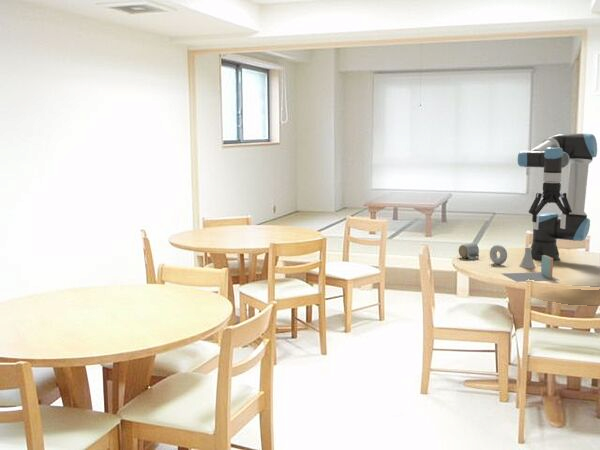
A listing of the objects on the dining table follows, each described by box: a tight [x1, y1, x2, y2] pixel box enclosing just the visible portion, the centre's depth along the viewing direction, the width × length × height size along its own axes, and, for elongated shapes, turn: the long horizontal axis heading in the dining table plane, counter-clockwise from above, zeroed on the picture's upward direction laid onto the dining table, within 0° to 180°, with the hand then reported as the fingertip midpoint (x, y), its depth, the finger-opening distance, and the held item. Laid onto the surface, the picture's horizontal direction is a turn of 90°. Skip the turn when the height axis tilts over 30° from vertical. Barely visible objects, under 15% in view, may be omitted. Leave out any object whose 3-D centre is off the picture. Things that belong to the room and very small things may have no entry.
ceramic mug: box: [458, 242, 480, 261], centre depth 335 cm, size 11×8×8 cm
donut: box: [489, 244, 508, 265], centre depth 319 cm, size 10×3×10 cm, turn 32°
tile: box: [540, 255, 554, 278], centre depth 290 cm, size 2×7×9 cm, turn 8°
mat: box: [501, 271, 559, 283], centre depth 289 cm, size 20×16×1 cm
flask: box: [518, 247, 537, 269], centre depth 310 cm, size 7×7×10 cm
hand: (549, 228), depth 291 cm, fingers open, 13 cm apart
